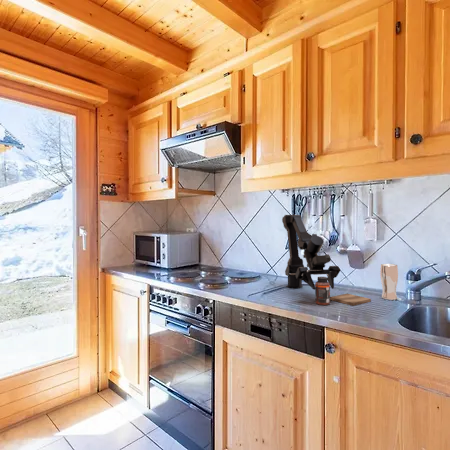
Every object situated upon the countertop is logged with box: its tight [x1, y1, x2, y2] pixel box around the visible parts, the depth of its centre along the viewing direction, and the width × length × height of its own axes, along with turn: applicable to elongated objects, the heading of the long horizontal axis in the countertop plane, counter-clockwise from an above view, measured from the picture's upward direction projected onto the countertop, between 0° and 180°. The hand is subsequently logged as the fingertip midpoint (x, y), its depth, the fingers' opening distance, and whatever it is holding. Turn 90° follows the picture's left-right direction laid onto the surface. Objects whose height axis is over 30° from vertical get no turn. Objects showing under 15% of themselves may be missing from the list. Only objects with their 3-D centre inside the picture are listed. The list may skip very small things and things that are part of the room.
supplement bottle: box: [314, 276, 331, 306], centre depth 130 cm, size 6×6×11 cm
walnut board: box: [330, 293, 372, 307], centre depth 134 cm, size 12×12×1 cm
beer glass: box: [379, 263, 399, 301], centre depth 137 cm, size 7×7×15 cm
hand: (324, 288), depth 129 cm, fingers open, 8 cm apart
